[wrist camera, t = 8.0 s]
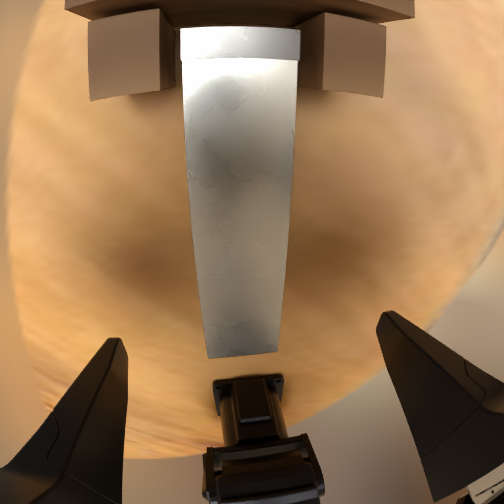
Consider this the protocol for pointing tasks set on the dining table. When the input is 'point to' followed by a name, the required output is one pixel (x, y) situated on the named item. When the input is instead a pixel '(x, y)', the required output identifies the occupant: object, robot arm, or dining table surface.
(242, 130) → the rail
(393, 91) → the dining table surface
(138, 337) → the dining table surface
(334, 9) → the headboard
